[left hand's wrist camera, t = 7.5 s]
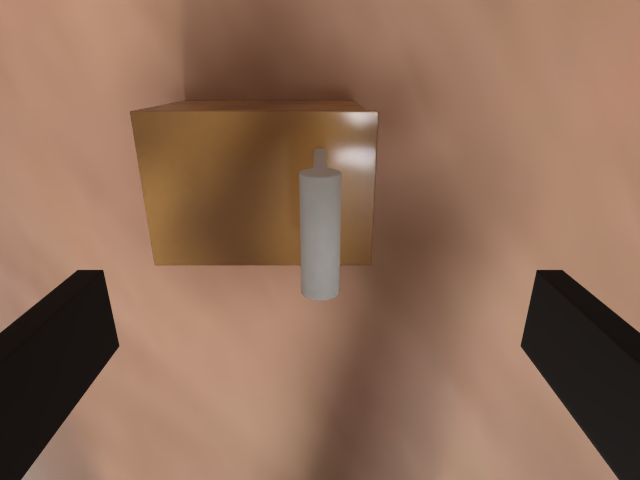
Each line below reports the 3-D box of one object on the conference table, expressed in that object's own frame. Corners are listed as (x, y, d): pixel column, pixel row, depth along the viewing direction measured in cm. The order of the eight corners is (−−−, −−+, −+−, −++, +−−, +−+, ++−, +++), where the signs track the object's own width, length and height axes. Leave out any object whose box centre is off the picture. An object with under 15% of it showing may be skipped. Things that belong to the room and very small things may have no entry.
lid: (377, 109, 24) (405, 128, 16) (369, 259, 28) (390, 336, 20) (135, 110, 24) (43, 128, 16) (159, 260, 28) (93, 336, 20)
